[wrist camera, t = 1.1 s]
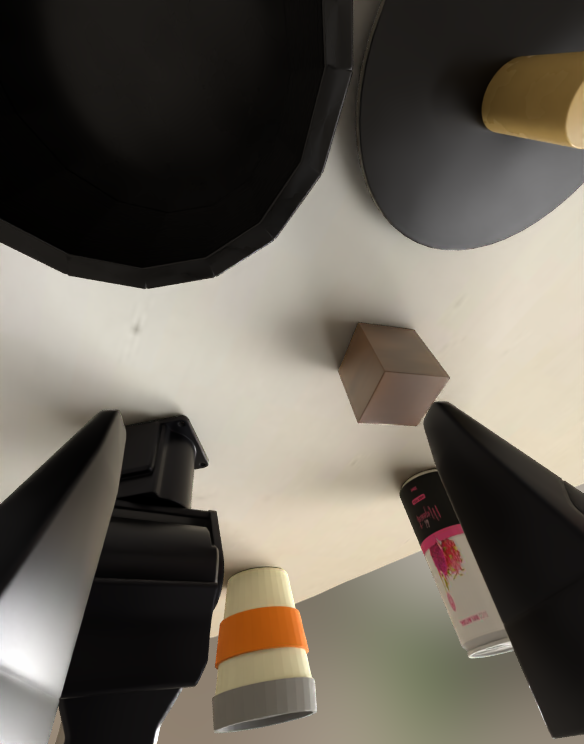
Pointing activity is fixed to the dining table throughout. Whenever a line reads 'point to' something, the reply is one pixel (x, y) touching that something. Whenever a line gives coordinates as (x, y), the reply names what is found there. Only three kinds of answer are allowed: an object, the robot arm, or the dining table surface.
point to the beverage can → (453, 566)
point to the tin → (163, 129)
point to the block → (390, 375)
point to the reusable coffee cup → (261, 655)
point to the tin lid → (471, 116)
